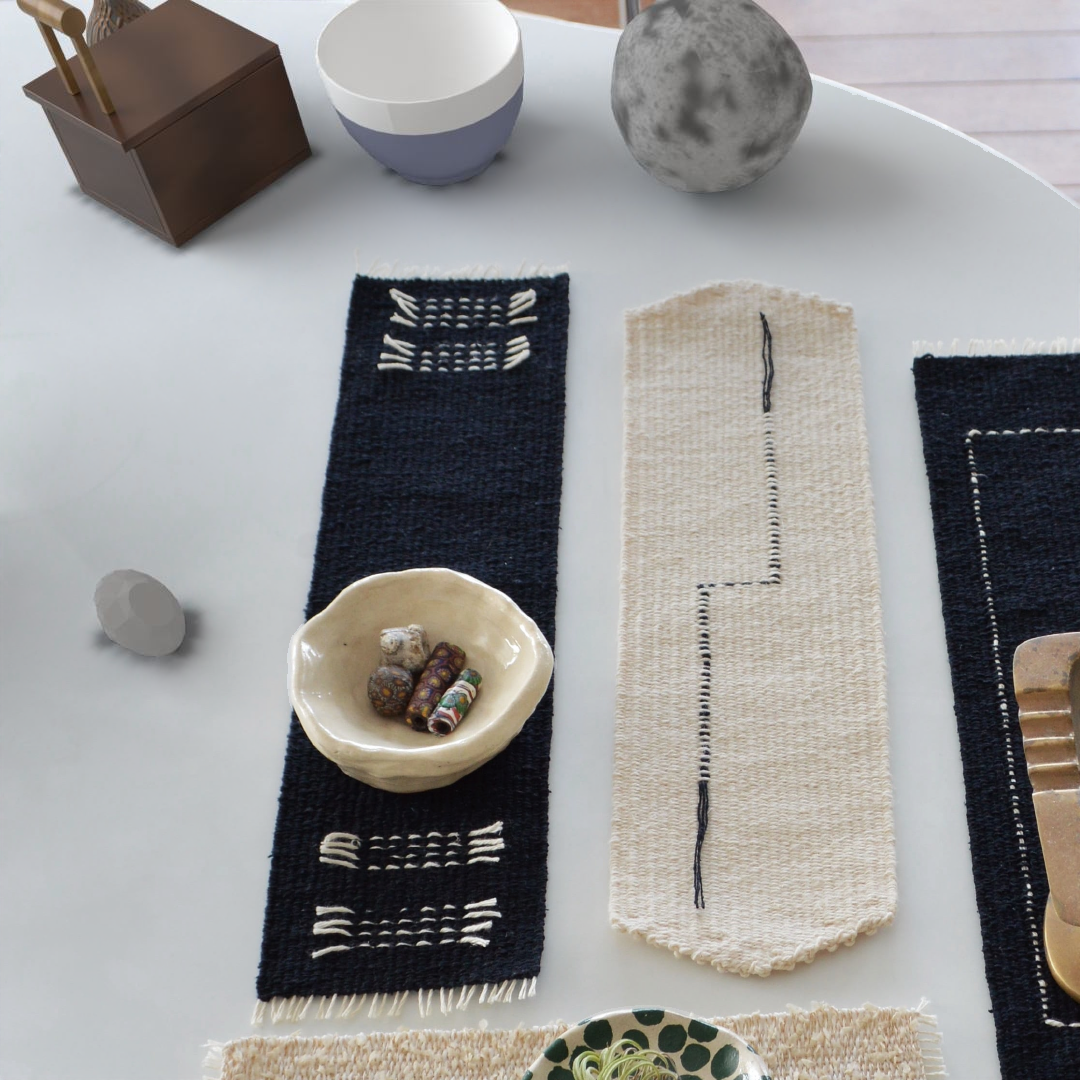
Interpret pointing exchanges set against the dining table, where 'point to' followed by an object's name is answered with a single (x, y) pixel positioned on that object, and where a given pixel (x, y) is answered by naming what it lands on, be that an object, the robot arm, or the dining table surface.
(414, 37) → the bowl
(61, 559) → the dining table surface
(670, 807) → the dining table surface
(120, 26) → the vase
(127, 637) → the grey rounded piece
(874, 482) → the dining table surface
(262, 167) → the chest
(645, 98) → the stone
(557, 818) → the dining table surface
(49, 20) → the lid
